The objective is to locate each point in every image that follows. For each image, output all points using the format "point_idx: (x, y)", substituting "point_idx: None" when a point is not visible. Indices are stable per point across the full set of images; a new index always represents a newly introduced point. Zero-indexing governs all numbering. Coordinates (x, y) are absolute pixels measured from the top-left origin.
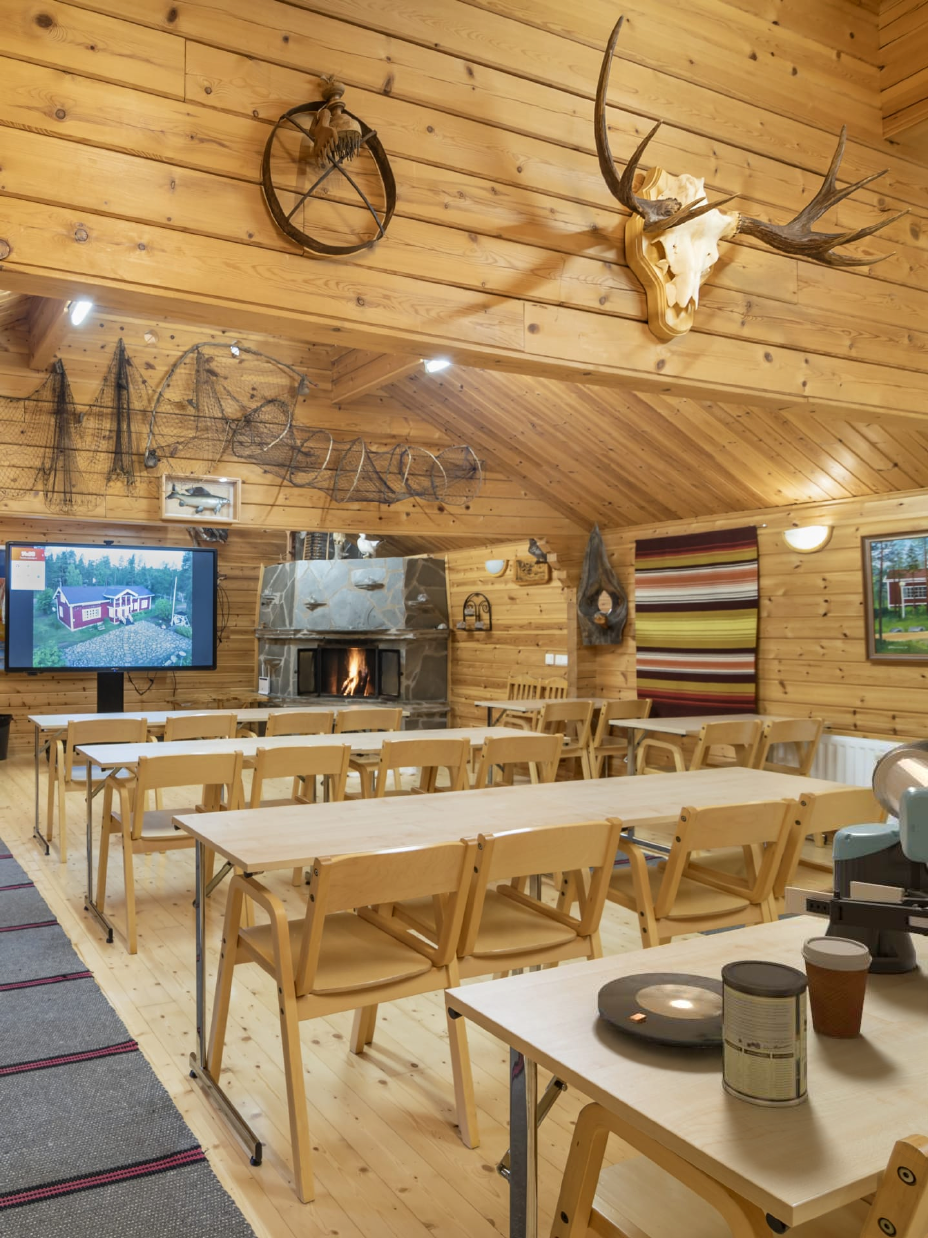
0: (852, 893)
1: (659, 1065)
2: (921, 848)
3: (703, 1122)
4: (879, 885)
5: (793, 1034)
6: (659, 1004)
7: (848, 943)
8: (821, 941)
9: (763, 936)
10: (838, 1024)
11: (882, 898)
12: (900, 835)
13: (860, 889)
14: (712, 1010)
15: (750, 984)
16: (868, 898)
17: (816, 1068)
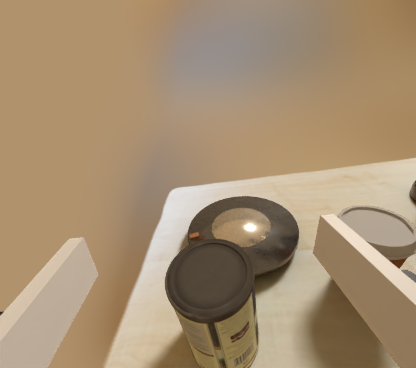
0: (319, 238)
1: None
2: None
3: (137, 355)
4: (385, 263)
5: (210, 345)
6: (223, 225)
7: (398, 220)
8: (365, 211)
9: (372, 170)
10: None
11: (377, 304)
12: None
13: (333, 242)
14: (249, 240)
15: (170, 286)
16: (343, 271)
17: (294, 326)
